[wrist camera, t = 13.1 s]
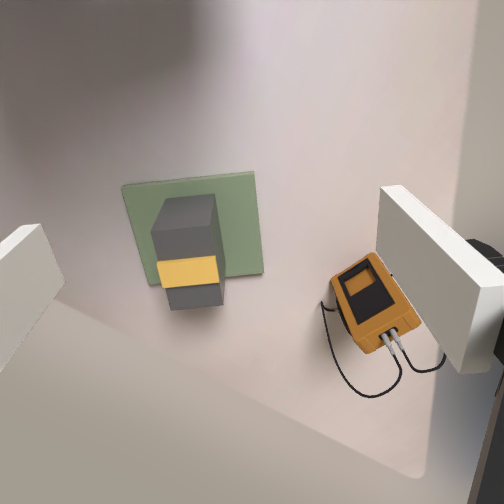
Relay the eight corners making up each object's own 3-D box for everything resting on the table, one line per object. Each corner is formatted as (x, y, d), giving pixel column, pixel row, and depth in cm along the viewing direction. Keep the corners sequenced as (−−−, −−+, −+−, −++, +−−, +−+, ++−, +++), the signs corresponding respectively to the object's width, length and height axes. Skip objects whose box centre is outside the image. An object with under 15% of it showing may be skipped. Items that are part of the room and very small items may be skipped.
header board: (123, 185, 45) (111, 199, 41) (253, 171, 45) (255, 184, 40) (150, 280, 52) (142, 300, 48) (263, 268, 52) (265, 288, 47)
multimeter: (344, 331, 58) (389, 454, 40) (307, 291, 54) (341, 409, 36) (429, 281, 54) (521, 394, 36) (397, 233, 50) (483, 336, 32)
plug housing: (165, 198, 45) (148, 234, 36) (215, 193, 45) (209, 227, 36) (181, 268, 50) (169, 313, 41) (226, 263, 49) (223, 308, 41)
